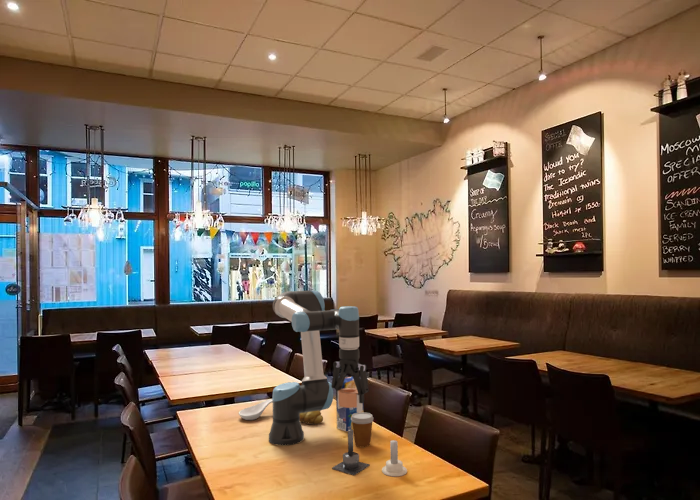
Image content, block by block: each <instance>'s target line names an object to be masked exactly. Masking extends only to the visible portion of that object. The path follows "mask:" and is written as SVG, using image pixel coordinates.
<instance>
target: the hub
mask: <svg viewBox="0 0 700 500" xmlns="http://www.w3.org/2000/svg"><path fill="white" fill-rule="evenodd" d="M389 442H390V444H389V445H390V448H389V449H390V459H388V460H386V461H385V465H384V466H382V468H381V472H382V474H384V476H385V475H386V476H388V477H394V478H395V477H398V478H399V477H402V476H405V475H406V474H407V473H408V469H407V467H405V466H404V465H403V464H404V463H403V461H402V460H400V459H399V455H398V453H399V451H398V450H399V449H398V447H399V446H398V441H397V440H396V439H395V440H390V441H389Z"/></svg>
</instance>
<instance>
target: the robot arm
mask: <svg viewBox="0 0 700 500" xmlns="http://www.w3.org/2000/svg"><path fill="white" fill-rule="evenodd" d="M325 307H326V306H325V300H324V296H323V295H322V294H321V292H320V291H318V290H310V289H309V290H295V291H293V290H289V291H288V290H287V291H284V292H282V293H280V294H278V295H277V296H276V297H275V298H274V300H273V302H272V311H273V312H274V313H275V315H276V316H278V317H280V318H283V319H287V320H288V321H289V322H291V326H292V329H293V331H294V332H296V333H298V332H299V333H300V339H301V350H302V360H303V373H304V377H303V378H302V379H301V385H300V383H299V382H297V381H292V382H290V381H288V382H285V383H280V384H278V385H277V386H275V387H273V390H272V398H271V399H272V400H273V402H272V424H271V426H270V429H269V430H270V431H269V434H268V442H269V443H270V444H272V445H275V446H292V445H296V444H299V443H301V442H303V441H304V439H305V432H304V430H303V427H302V422H301V421H300V413H305V412H312V411H320V412H321V411H324V410H328V409H329V408H330V407H331V405H332V404H333V400H334V390H335V396H336V397H335V398H337V399H338V409H340V408H343V407H341V406H340V405H339V392H338V390H341V389H342V386H343V383H344V380H345V378H347V375H348V374H349V375H350V377H353V379H354V382H355V385H356V388H357V391H358V394H357V413H359V412H361V411H363V410H364V402H365V394H366V393H369V392H370V389H369V383H368V378H367V377H368V376H367V365H366V364H361V363H360V361H359V359H360V349H359V347H360V313H359V308H358V306H354V305H353V306H351V305H349V306H348V305H346V306H345V305H343V306H340V307H339V309H338V308H335V309H334V308H333V309H330V310H329V309H328V310H325ZM330 330H331V331H333V330H338V336H339V337H338V344H339V345H338V346H339V349H338V350H339V351H338V358H339V361H334V362H332V366H333V370H332V371H333V373H332V381H331V382H330V381H328V377H327V376H326V375H325V374H324V366H323V365H324V364H323V355H322V354H323V353H322V345H321V336H320V331H330Z"/></svg>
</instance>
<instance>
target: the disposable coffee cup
mask: <svg viewBox="0 0 700 500" xmlns="http://www.w3.org/2000/svg"><path fill="white" fill-rule="evenodd" d="M374 420H375V419H374V417H373V414H371V413H370V412H360V413H355V414H353V415H352V417H351V421H352V425H353V441H354V445H355V446H356V447H357V448H367V447H370V446H371V440H372V439H371V438H372V429H373V421H374Z"/></svg>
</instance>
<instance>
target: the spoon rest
mask: <svg viewBox="0 0 700 500" xmlns="http://www.w3.org/2000/svg"><path fill="white" fill-rule="evenodd" d="M270 404H273V400H272V398H270V399H266V400H264V401H261V402H259V403H257V404H254V405H251V406H248V407H245V408H243V409H241V410H239V412H238V415H239V417H241V419H243V420H246V421H254V420H258V419H259V418H260V417H261V415H262V414H263V413H264V411H265V409H266V408H267V407H268V406H269V405H270ZM257 418H258V419H257Z"/></svg>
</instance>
